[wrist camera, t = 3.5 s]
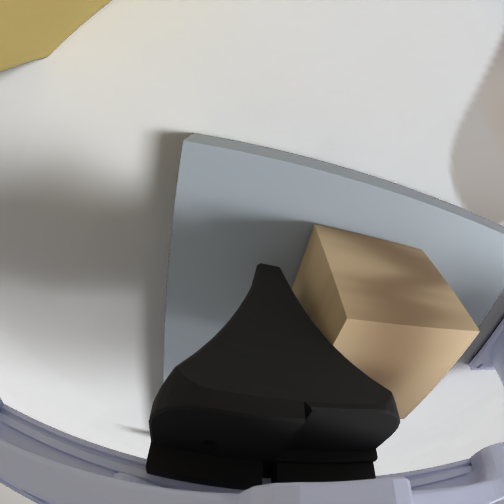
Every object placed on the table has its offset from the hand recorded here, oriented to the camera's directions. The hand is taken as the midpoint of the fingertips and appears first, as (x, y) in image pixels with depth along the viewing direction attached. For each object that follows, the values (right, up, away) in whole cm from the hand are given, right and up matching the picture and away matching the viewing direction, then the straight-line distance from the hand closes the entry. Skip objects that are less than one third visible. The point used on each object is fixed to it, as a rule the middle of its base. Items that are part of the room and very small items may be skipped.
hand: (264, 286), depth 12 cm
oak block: (+4, 0, +1) cm, 4 cm away
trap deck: (+3, -7, +7) cm, 10 cm away
